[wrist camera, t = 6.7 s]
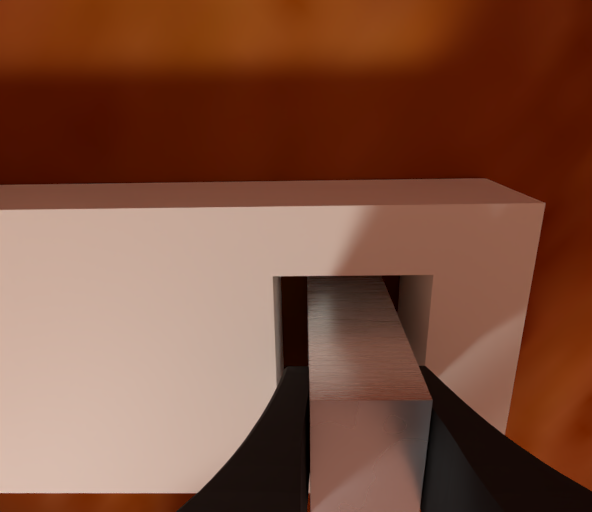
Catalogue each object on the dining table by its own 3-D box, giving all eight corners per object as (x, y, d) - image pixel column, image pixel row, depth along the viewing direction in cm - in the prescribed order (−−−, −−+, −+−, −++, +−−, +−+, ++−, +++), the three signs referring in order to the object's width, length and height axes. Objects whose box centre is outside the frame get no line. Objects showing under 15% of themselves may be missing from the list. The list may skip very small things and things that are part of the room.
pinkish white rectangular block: (372, 362, 17) (416, 537, 10) (308, 363, 17) (311, 536, 10) (377, 267, 15) (432, 400, 9) (307, 268, 15) (310, 400, 9)
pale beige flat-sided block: (455, 414, 19) (494, 493, 15) (-54, 415, 19) (-142, 492, 15) (485, 178, 15) (545, 203, 11) (-132, 186, 16) (-270, 213, 12)
